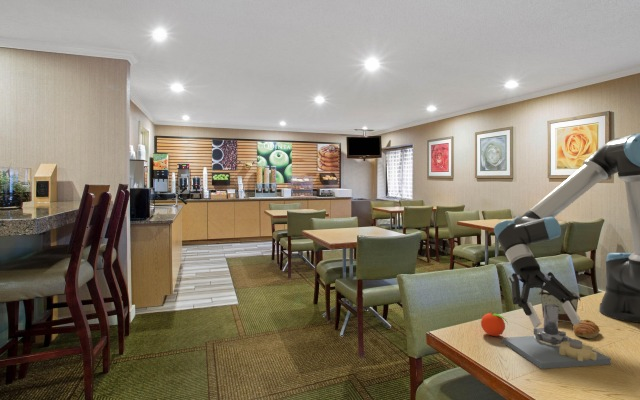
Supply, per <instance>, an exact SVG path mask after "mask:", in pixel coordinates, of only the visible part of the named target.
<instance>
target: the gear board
mask: <svg viewBox="0 0 640 400" xmlns="http://www.w3.org/2000/svg"><path fill="white" fill-rule="evenodd" d="M566 337H568V336H567V335H566ZM502 343H503V345H506V346H507V347H509V348H510V349H512V350H513V351H515V352H516V353H518V354H519V355H520V356H522V357H524V359H526V360H527V361H529V362H530V363H532V364H534V365H535V366H536V367H538V368H540V370H542V369H555V368H556V369H557V368H559V369H560V368H570V367H571V368H574V367H575V368H576V367H587V366H602V365H603V366H604V365H605V366H606V365H611V364H612V363H611V360H612V359H611V357H608V356H607V355H604V354H603V353H601V352H599V351H597V350H595V349H593V346H592V345H589V344H587V345H586V344H584V343H583V341H581V340H579V339H573V338H571V337H569V341H564V342H561V344H556V345H552V344H551V343H547V342H544V341H542V340H537V339H536V335H535V334H533V335H526V336H524V335H523V336H509V337H508V336H506V337H502Z"/></svg>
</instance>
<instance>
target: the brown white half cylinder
mask: <svg viewBox="0 0 640 400" xmlns="http://www.w3.org/2000/svg"><path fill="white" fill-rule="evenodd" d="M569 291H570V292H571V293H572V294H573V295H574V296H575V299H574V300H572V301H571V302H572V304H573V305H574V307H575V309H576V313H577V312H578V304H579V302H581V297H580V294H579V293H577V292H575V291H572V290H569ZM538 296H540V299H541V310H542V318H543V319H544V304H553V305H557V306H558V321H560V320H562V321H561V322H566V321H568V322H567V323H572V322H571V320H570V318H569V317H568V315H567V313H566V312H565V310H564V308H563V307H562V304H563V303H562V302H561V301H559V300H558V299H557V298H555V297H554V296H553V295H551V294H550V293H548V292H547V291H546V290H543V289H541V288H540V290H539V293H538ZM564 300H565V299H564Z"/></svg>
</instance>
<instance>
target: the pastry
mask: <svg viewBox="0 0 640 400" xmlns="http://www.w3.org/2000/svg"><path fill="white" fill-rule="evenodd" d="M580 320H581V322H580V323H579V324H577V325H573V326H572V330H573V332H574V335H576V337H581V338H586V339H594V338H596V337H597V336H598V335H599V333H600V331H601V329H600V327H599V326H598V325H597V324H596V323H595V322H594V321H592V320H589V319H580Z"/></svg>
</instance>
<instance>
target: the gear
mask: <svg viewBox="0 0 640 400" xmlns="http://www.w3.org/2000/svg"><path fill="white" fill-rule="evenodd" d="M566 334H567V332H565V331H563V330H562V331H560V330H559V320H558V306H557V305H553V304H544V318H543V327H539V328H538V327H535V328H534V327H533V335H536V339H537V340H542V341H544V342H547V343H551V344H552V345H556V344H561V342H564V341H569V338H570V336H567V335H566ZM566 336H567V337H566Z"/></svg>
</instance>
